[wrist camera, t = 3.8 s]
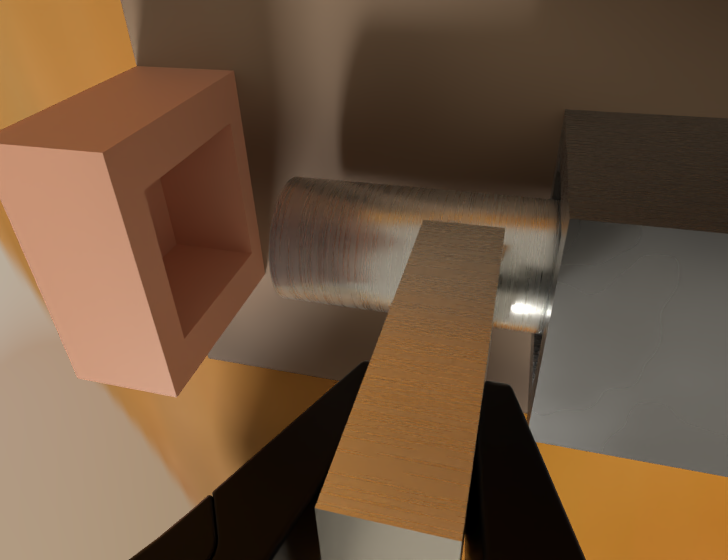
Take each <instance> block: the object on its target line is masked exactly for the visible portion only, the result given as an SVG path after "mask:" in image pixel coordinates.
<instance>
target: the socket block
mask: <svg viewBox="0 0 728 560" xmlns="http://www.w3.org/2000/svg"><path fill="white" fill-rule="evenodd" d="M0 199H1V202H2V204H3V206H4V209H5V211H6V213H7V216H8V218H9V220H10V223H11V225H12V227H13V230H14V232H15V234H16V237H17V239H18V241H19V243H20V246H21V248H22V250H23V253H24V255H25V257H26V260H27V262H28V264H29V267H30V269H31V271H32V274H33V276H34V278H35V281H36V283H37V285H38V287H39V290H40V292H41V294H42V297H43V299H44V301H45V304H46V306H47V308H48V311H49V313H50V315H51V318H52V320H53V322H54V325H55V327H56V329H57V331H58V334H59V336H60V338H61V341H62V343H63V345H64V348H65V350H66V352H67V355H68V357H69V359H70V361H71V364H72V366H73V369H74V371H75V373H76V375H77V378H79V379H84V380H89V381H94V382H100V383H105V384H110V385H115V386H120V387H126V388H131V389H136V390H141V391H146V392H151V393H157V394H162V395H167V396H172V397H177V396H178V395H179V394H180V392H181V391H182V389H183V388H184V387H185V385H186V384H187V382H188V381H189V380H190V378H191V377H192V375H193V374H194V373H195V371H196V370H197V368H198V367H199V366H200V364H201V363H202V362H203V360H204V359H205V357H206V356H207V355H208V353H209V352H210V350H211V349H212V348H213V346H214V345H215V343H216V342H217V341H218V339H219V338H220V336H221V335H222V334H223V332H224V331H225V329H226V328H227V327H228V325H229V324H230V322H231V321H232V320H233V318H234V317H235V315H236V314H237V313H238V311H239V310H240V308H241V307H242V306H243V304H244V303H245V302H246V300H247V299H248V297H249V296H250V295H251V293H252V292H253V290H254V289H255V288H256V286H257V285H258V283H259V282H260V281H261V279H262V278H263V276H264V275H265V269H264V263H263V256H262V250H261V243H260V237H259V230H258V224H257V217H256V211H255V204H254V198H253V191H252V185H251V178H250V172H249V165H248V159H247V152H246V146H245V139H244V133H243V126H242V120H241V113H240V107H239V100H238V94H237V87H236V81H235V74H234V71H233V70H211V69H190V68H168V67H147V66H136V67H134V68H132V69H130V70H127V71H125V72H123V73H121V74H119V75H117V76H115V77H113V78H110V79H108V80H106V81H104V82H102V83H100V84H98V85H95V86H93V87H91V88H89V89H87V90H85V91H83V92H81V93H78V94H76V95H74V96H72V97H70V98H68V99H66V100H64V101H61V102H59V103H57V104H55V105H53V106H51V107H49V108H47V109H44V110H42V111H40V112H38V113H36V114H34V115H32V116H30V117H27V118H25V119H23V120H21V121H19V122H17V123H15V124H13V125H10V126H8V127H6V128H4V129H2V130H0Z"/></svg>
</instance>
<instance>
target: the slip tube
mask: <svg viewBox="0 0 728 560" xmlns="http://www.w3.org/2000/svg"><path fill="white" fill-rule="evenodd" d="M561 236H562V235H561V200H553V199H542V198H531V197H520V196H508V195H497V194H486V193H475V192H464V191H453V190H442V189H431V188H419V187H408V186H397V185H386V184H375V183H364V182H353V181H342V180H330V179H319V178H308V177H297V176H296V177H293V178H291V179H290V180H289V181H288V182H287V183H286V184H285V186H284V187H283V189H282V191H281V193H280V195H279V197H278V200H277V203H276V206H275V209H274V213H273V218H272V222H271V228H270V237H269V267H270V274H271V279H272V282H273V285H274V288H275V290H276V292H277V293H278V294H279V295H280V296H281V297H283V298H288V299H295V300H302V301H309V302H316V303H323V304H330V305H337V306H344V307H351V308H358V309H365V310H372V311H379V312H386V313H388V315H387V317H386V320H385V323H384V325H383V328H382V331H381V333H380V336H379V339H378V341H377V344H376V347H375V349H374V352H373V355H372V357H371V360H370V363H369V365H368V368H367V371H366V373H365V376H364V378H363V381H362V384H361V386H360V389H359V392H358V394H357V397H356V400H355V402H354V405H353V408H352V410H351V413H350V416H349V418H348V421H347V424H346V426H345V429H344V432H343V434H342V437H341V440H340V442H339V445H338V448H337V450H336V453H335V455H334V458H333V461H332V463H331V466H330V469H329V471H328V474H327V477H326V479H325V482H324V485H323V487H322V490H321V493H320V495H319V498H318V501H317V503H316V506H315V514H316V522H317V530H318V537H319V545H320V552H321V560H462V553H463V546H464V538H465V529H466V521H467V513H468V505H469V497H470V489H471V481H472V472H473V464H474V456H475V448H476V441H477V434H478V426H479V419H480V412H481V405H482V398H483V391H484V384H485V381H486V376H487V369H488V361H489V354H490V346H491V338H492V330H493V328H499V329H506V330H513V331H520V332H527V333H534V334H541V335H543V330H544V324H545V319H546V314H547V309H548V304H549V298H550V293H551V288H552V283H553V277H554V272H555V267H556V262H557V257H558V251H559V246H560V241H561Z"/></svg>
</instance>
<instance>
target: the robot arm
mask: <svg viewBox="0 0 728 560" xmlns="http://www.w3.org/2000/svg"><path fill="white" fill-rule="evenodd" d="M369 363H370V361H368V360H365V361H362V362H361V363H360V364H358V365H357V366H356V367H355V368H354V369H353V370H352V371H350V372H349V373H348V374H347V375H346V376H345V377H344V378H342V379H341V380H340V381H339V382H338V383H337V384H336V385H334V386H333V387H332V388H331V389H330V390H329V391H328V392H326V393H325V394H324V395H323V396H322V397H321V398H320V399H318V400H317V401H316V402H315V403H314V404H313V405H312V406H310V407H309V408H308V409H307V410H306V411H305V412H304V413H302V414H301V415H300V416H299V417H298V418H297V419H296V420H294V421H293V422H292V423H291V424H290V425H289V426H287V427H286V428H285V429H284V430H283V431H282V432H281V433H279V434H278V435H277V436H276V437H275V438H274V439H273V440H271V441H270V442H269V443H268V444H267V445H266V446H265V447H263V448H262V449H261V450H260V451H259V452H258V453H257V454H255V455H254V456H253V457H252V458H251V459H250V460H249V461H247V462H246V463H245V464H244V465H243V466H242V467H241V468H239V469H238V470H237V471H236V472H235V473H234V474H233V475H231V476H230V477H229V478H228V479H227V480H226V481H225V482H223V483H222V484H221V485H220V486H219V487H218V488H217V489H215V490H214V491H213V493H212V495H213V497H212V496H211V495H208V496H207V497H206V498H205V499H204V500H202V501H201V502H200V503H199V504H198V505H197V506H196V507H194V508H193V509H192V510H191V511H190V512H189V513H187V514H186V515H185V516H184V517H183V518H181V519H180V520H179V521H178V522H177V523H175V524H174V525H173V526H172V527H171V528H169V529H168V530H167V531H166V532H165V533H163V534H162V535H161V536H160V537H158V538H157V539H156V540H155V541H153V542H152V543H151V544H149V545H148V546H147V547H145V548H144V549H142V550H141V551H140V552H139V553H137V554H136V555H135V556H133V557H132V558H131V559H129V560H321V552H320V545H319V537H318V530H317V522H316V514H315V506H316V503H317V501H318V498H319V495H320V493H321V490H322V487H323V485H324V482H325V479H326V477H327V474H328V471H329V469H330V466H331V463H332V461H333V458H334V455H335V453H336V450H337V448H338V445H339V442H340V440H341V437H342V434H343V432H344V429H345V426H346V424H347V421H348V418H349V416H350V413H351V410H352V408H353V405H354V402H355V400H356V397H357V394H358V392H359V389H360V386H361V384H362V381H363V378H364V376H365V373H366V371H367V368H368V365H369ZM465 560H586V559H585V557H584V554H583V552H582V550H581V547H580V545H579V543H578V540H577V538H576V536H575V533H574V531H573V529H572V526H571V524H570V522H569V519H568V517H567V515H566V512H565V510H564V508H563V505H562V503H561V501H560V498H559V496H558V493H557V491H556V489H555V486H554V484H553V482H552V479H551V477H550V475H549V472H548V470H547V468H546V465H545V463H544V461H543V458H542V456H541V454H540V451H539V449H538V447H537V444H536V442H535V440H534V437H533V435H532V433H531V430H530V428H529V426H528V423H527V421H526V419H525V416H524V414H523V411H522V409H521V407H520V404H519V402H518V400H517V397H516V395H515V393H514V390H513V388H512V387H511V386H510V385H509V384H506V383H500V382H494V381H485V384H484V391H483V398H482V405H481V412H480V419H479V426H478V434H477V441H476V448H475V456H474V464H473V472H472V481H471V489H470V497H469V505H468V513H467V521H466V529H465Z"/></svg>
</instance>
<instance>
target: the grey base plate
mask: <svg viewBox="0 0 728 560" xmlns="http://www.w3.org/2000/svg"><path fill="white" fill-rule="evenodd" d="M121 4H122V8H123V12H124V16H125V20H126V24H127V28H128V32H129V36H130V40H131V44H132V48H133V52H134V56H135V60H136V64H137V66H147V67H168V68H190V69H211V70H233V71H234V74H235V81H236V87H237V94H238V100H239V107H240V113H241V120H242V126H243V133H244V139H245V146H246V152H247V159H248V165H249V172H250V178H251V185H252V191H253V198H254V204H255V211H256V217H257V224H258V230H259V237H260V243H261V250H262V256H263V263H264V269H265V275H264V276H263V278H262V279H261V281H260V282H259V283H258V285H257V286H256V288H255V289H254V290H253V292H252V293H251V295H250V296H249V297H248V299H247V300H246V302H245V303H244V304H243V306H242V307H241V308H240V310H239V311H238V313H237V314H236V315H235V317H234V318H233V320H232V321H231V322H230V324H229V325H228V327H227V328H226V329H225V331H224V332H223V334H222V335H221V336H220V338H219V339H218V341H217V342H216V343H215V345H214V346H213V348H212V349H211V350H210V352H209V353H208V357H209V358H210V359H216V360H222V361H228V362H233V363H239V364H245V365H251V366H257V367H262V368H268V369H274V370H280V371H285V372H291V373H297V374H303V375H309V376H314V377H320V378H326V379H332V380H337V381H340V380H341V379H342V378H344V377H345V376H346V375H347V374H348V373H349V372H350V371H352V370H353V369H354V368H355V367H356V366H357V365H358V364H360V363H361V362H362V361H365V360H368V361H370V360H371V357H372V355H373V352H374V349H375V347H376V344H377V341H378V339H379V336H380V333H381V331H382V328H383V325H384V323H385V320H386V317H387V315H388V313H386V312H379V311H372V310H365V309H358V308H351V307H344V306H337V305H330V304H323V303H316V302H309V301H302V300H295V299H288V298H283V297H281V296H280V295H279V294H278V293H277V292H276V290H275V288H274V285H273V282H272V279H271V274H270V267H269V237H270V228H271V222H272V218H273V213H274V209H275V206H276V203H277V200H278V197H279V195H280V193H281V191H282V189H283V187H284V186H285V184H286V183H287V182H288V181H289V180H290V179H291V178H293V177H296V176H297V177H308V178H319V179H330V180H342V181H353V182H364V183H375V184H386V185H397V186H408V187H419V188H431V189H442V190H453V191H464V192H475V193H486V194H497V195H508V196H520V197H531V198H542V199H550V195H551V189H552V183H553V177H554V172H555V166H556V160H557V154H558V148H559V142H560V137H561V131H562V125H563V119H564V113H565V109H568V110H586V111H604V112H622V113H640V114H658V115H676V116H694V117H712V118H728V0H121ZM530 353H531V333H527V332H520V331H513V330H506V329H499V328H493V330H492V338H491V346H490V354H489V361H488V369H487V376H486V381H494V382H500V383H506V384H509V385H510V386H511V387H512V388H513V390H514V393H515V395H516V397H517V400H518V402H519V404H520V407H521V409H522V411H523V413H527V411H528V392H529V372H530Z"/></svg>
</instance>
